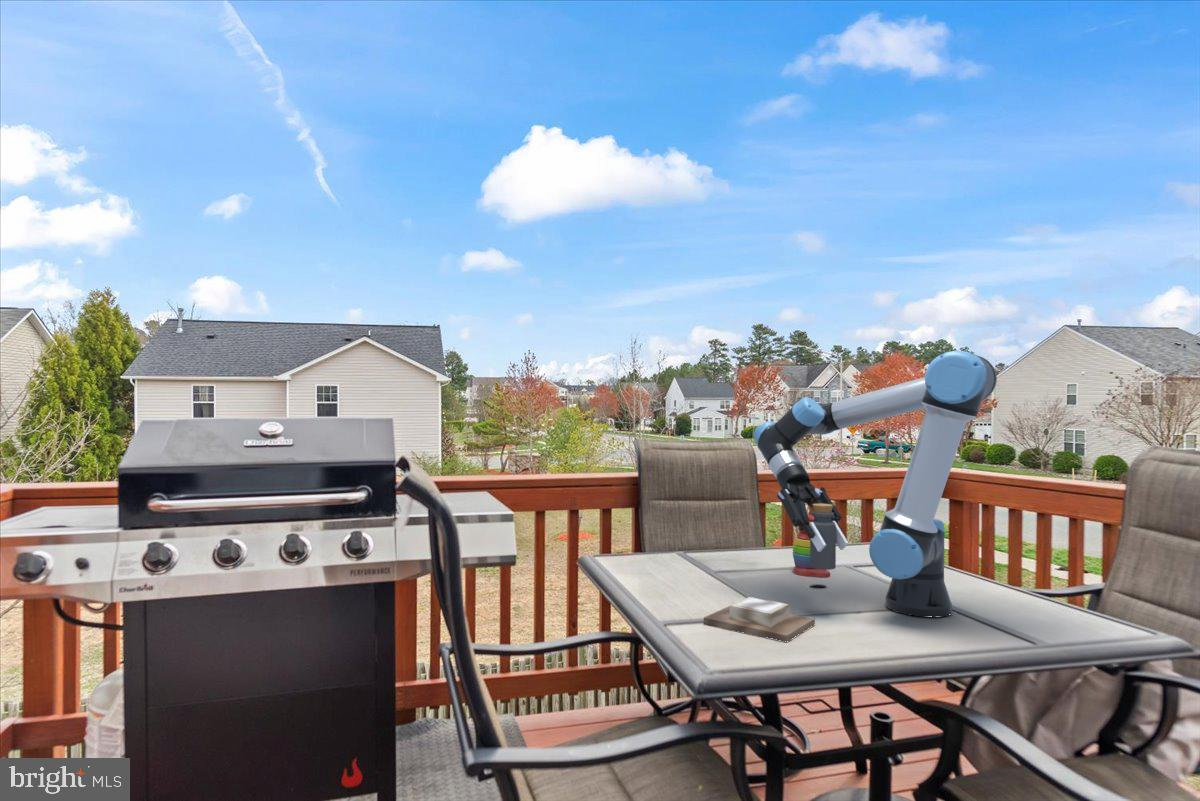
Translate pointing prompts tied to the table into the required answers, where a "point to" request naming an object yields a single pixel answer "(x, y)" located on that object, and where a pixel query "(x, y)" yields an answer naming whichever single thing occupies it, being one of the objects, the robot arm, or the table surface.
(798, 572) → the stacking bear
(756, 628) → the plinth
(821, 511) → the bottle
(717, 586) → the table surface
